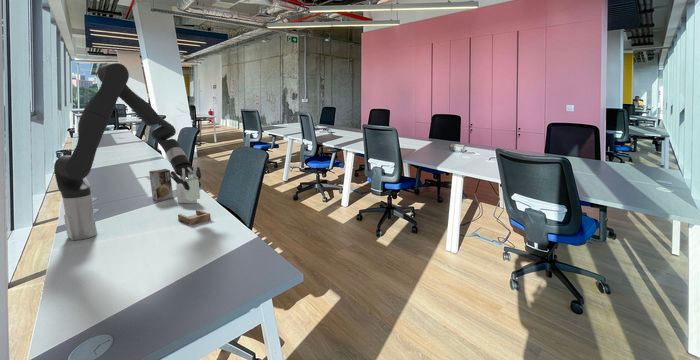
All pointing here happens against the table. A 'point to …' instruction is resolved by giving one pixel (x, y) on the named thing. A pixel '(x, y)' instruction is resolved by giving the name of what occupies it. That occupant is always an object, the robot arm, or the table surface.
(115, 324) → the table surface
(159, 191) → the coffee box
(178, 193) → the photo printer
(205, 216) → the rest
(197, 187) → the bottle
